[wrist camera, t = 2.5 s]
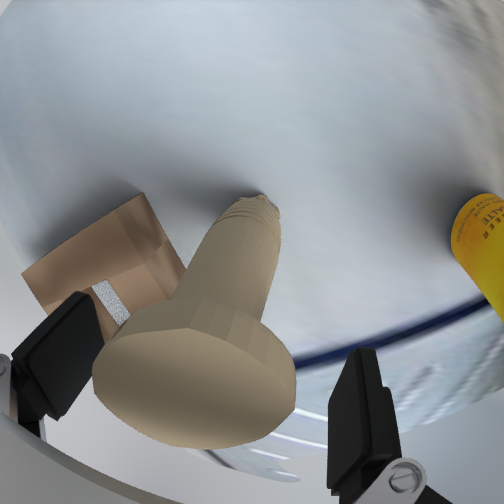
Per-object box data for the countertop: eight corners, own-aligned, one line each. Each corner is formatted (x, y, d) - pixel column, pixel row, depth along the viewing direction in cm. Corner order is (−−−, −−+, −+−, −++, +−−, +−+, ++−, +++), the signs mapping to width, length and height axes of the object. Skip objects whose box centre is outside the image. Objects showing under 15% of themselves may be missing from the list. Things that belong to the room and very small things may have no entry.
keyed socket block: (45, 254, 25) (20, 273, 22) (143, 192, 21) (114, 210, 17) (126, 368, 31) (111, 392, 28) (236, 350, 26) (227, 383, 23)
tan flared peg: (200, 218, 21) (71, 381, 8) (266, 156, 18) (173, 286, 5) (247, 265, 22) (180, 456, 9) (315, 211, 19) (331, 415, 6)
